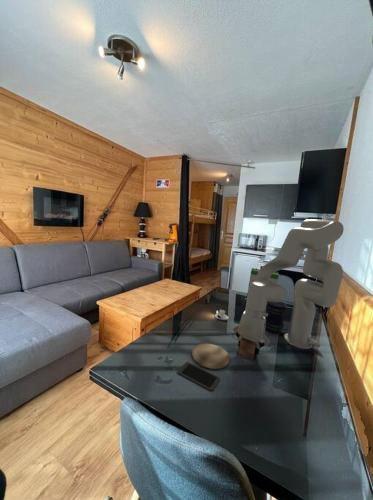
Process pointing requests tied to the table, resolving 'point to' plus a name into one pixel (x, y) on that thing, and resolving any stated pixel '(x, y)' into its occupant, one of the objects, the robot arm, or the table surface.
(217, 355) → the plate
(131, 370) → the table surface
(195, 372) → the cell phone
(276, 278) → the hardback book
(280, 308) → the storage jar
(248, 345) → the walnut cube
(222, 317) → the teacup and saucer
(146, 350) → the table surface
